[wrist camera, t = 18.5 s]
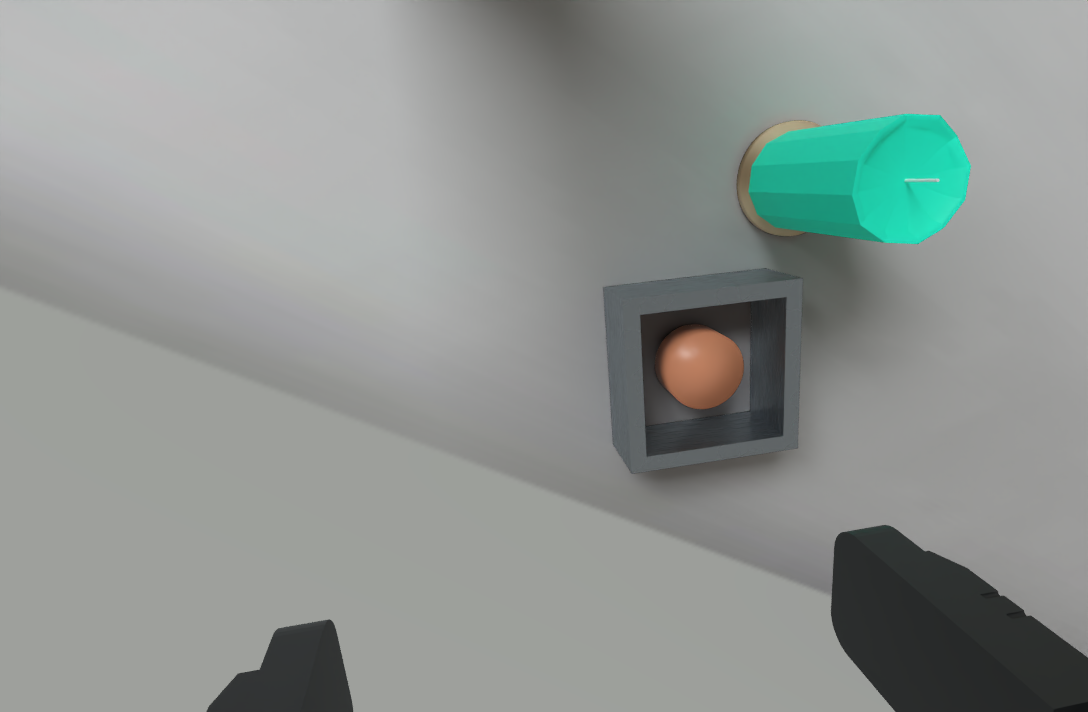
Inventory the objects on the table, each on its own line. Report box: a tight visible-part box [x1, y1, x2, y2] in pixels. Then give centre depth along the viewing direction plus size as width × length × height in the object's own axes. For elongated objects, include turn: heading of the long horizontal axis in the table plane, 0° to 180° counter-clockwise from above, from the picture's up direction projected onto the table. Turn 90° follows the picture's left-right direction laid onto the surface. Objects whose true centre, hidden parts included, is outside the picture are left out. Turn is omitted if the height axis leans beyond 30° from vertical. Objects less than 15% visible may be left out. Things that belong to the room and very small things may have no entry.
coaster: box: [737, 120, 821, 236], centre depth 39 cm, size 7×7×1 cm
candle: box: [748, 114, 971, 244], centre depth 33 cm, size 6×6×12 cm
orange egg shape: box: [655, 324, 744, 409], centre depth 40 cm, size 5×5×2 cm
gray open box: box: [603, 268, 803, 474], centre depth 39 cm, size 11×11×4 cm
